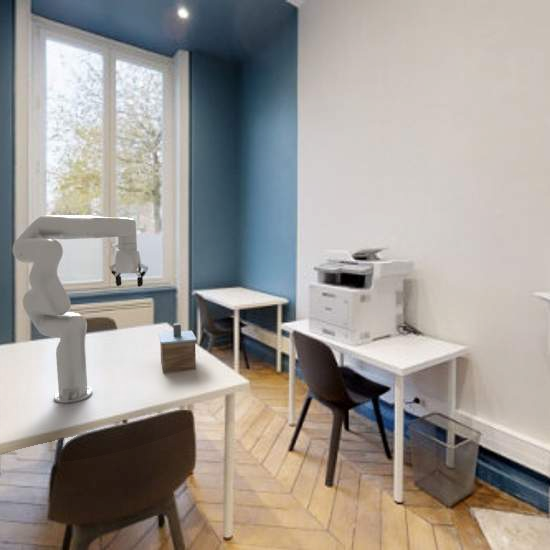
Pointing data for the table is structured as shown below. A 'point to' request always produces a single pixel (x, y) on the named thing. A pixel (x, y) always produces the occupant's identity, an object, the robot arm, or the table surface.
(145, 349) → the table surface
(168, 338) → the lid
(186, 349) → the walnut box
